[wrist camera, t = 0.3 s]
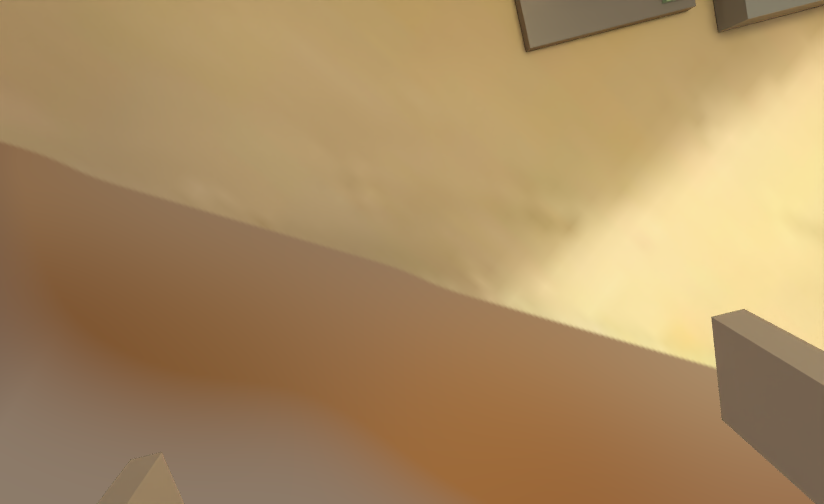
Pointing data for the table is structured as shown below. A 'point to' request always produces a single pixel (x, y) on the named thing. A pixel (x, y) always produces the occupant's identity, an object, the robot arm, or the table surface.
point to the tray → (756, 11)
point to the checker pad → (586, 17)
